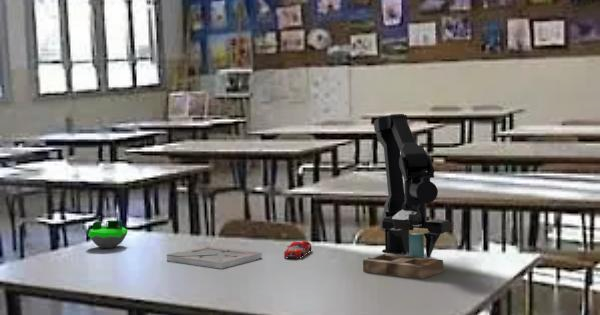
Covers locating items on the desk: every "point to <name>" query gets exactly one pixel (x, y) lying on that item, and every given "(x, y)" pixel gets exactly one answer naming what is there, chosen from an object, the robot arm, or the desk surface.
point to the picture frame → (214, 256)
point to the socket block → (403, 265)
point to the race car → (297, 249)
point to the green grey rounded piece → (108, 233)
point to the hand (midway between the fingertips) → (416, 256)
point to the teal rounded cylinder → (416, 245)
